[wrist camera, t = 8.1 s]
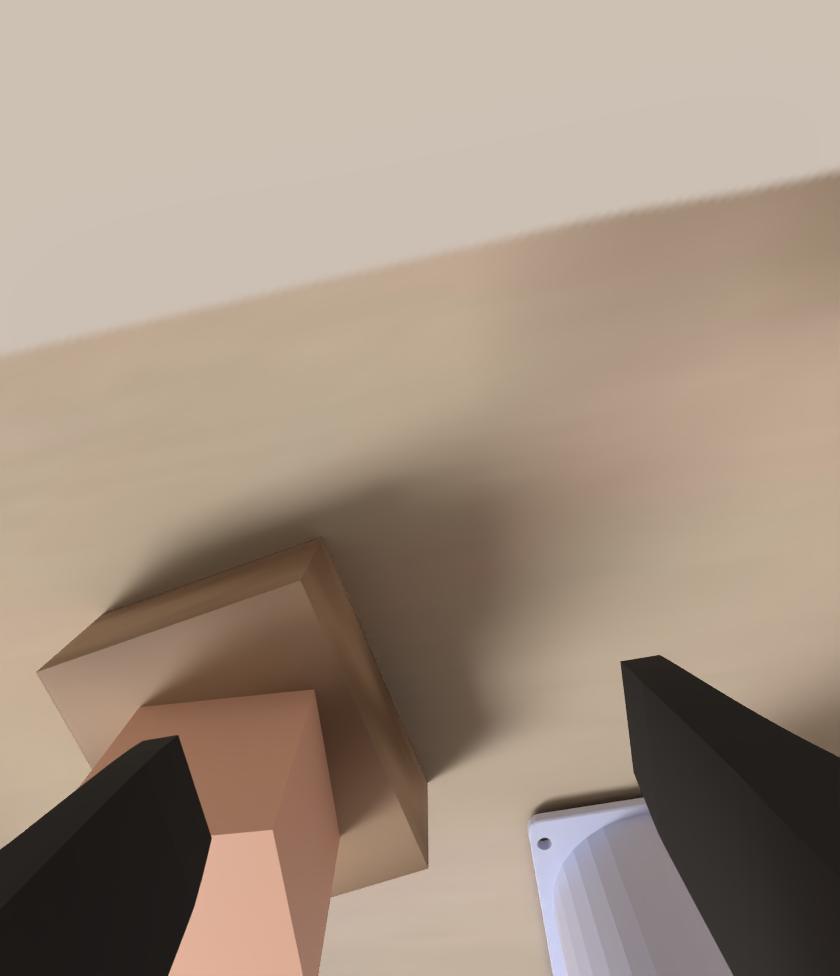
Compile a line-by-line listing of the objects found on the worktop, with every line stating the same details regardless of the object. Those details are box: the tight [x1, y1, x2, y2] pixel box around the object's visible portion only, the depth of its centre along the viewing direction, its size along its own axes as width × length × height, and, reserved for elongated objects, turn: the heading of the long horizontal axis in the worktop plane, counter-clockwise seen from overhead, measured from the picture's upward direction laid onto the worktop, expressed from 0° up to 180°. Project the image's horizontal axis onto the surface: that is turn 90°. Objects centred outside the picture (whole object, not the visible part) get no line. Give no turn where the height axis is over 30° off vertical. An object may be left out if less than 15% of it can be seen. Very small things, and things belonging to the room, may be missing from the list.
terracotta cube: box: [80, 689, 340, 976], centre depth 15 cm, size 5×5×5 cm
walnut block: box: [36, 537, 428, 897], centre depth 20 cm, size 10×8×4 cm
